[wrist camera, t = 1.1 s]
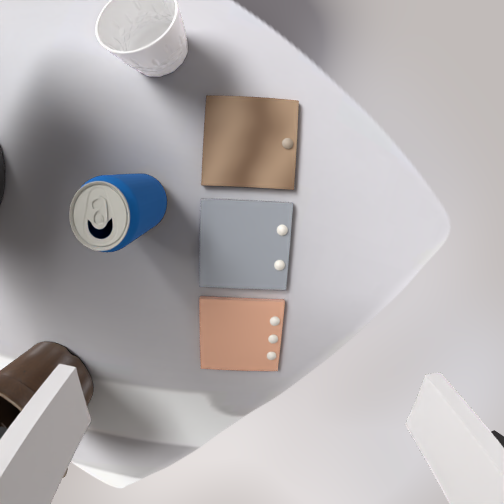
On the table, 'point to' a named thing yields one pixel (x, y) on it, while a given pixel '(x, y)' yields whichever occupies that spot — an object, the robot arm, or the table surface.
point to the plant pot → (35, 378)
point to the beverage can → (116, 210)
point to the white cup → (144, 34)
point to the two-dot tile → (244, 243)
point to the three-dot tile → (240, 333)
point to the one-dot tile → (250, 142)
